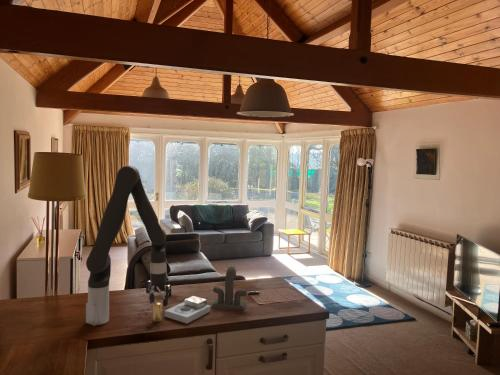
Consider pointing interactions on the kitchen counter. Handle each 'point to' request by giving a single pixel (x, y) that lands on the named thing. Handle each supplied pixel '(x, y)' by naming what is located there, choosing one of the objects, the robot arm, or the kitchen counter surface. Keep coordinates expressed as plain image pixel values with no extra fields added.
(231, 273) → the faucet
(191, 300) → the shunt plate
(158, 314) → the cylinder
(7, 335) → the kitchen counter surface
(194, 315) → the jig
